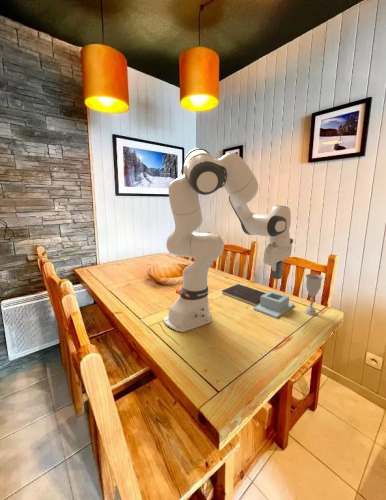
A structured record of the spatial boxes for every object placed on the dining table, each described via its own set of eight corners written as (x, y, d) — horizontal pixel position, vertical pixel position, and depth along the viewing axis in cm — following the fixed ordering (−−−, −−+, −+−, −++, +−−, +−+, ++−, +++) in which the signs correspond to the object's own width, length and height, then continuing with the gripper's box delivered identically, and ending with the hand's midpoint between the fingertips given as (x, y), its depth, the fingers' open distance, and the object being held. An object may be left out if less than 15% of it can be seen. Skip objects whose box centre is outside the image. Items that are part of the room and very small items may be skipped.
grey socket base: (276, 318, 102) (277, 306, 101) (253, 309, 110) (254, 298, 109) (294, 305, 114) (295, 294, 113) (271, 298, 122) (272, 288, 121)
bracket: (279, 279, 106) (280, 263, 104) (267, 276, 110) (268, 260, 109) (282, 277, 108) (283, 261, 106) (270, 275, 112) (271, 259, 111)
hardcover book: (255, 307, 113) (256, 303, 113) (221, 294, 130) (221, 290, 130) (272, 298, 124) (272, 294, 123) (238, 287, 141) (238, 283, 140)
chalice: (312, 317, 102) (316, 280, 98) (298, 311, 108) (302, 275, 104) (322, 314, 105) (326, 277, 101) (309, 308, 111) (312, 273, 107)
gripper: (274, 245, 96) (272, 276, 99) (295, 239, 109) (292, 266, 112) (260, 243, 100) (259, 273, 103) (282, 237, 114) (280, 264, 117)
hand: (276, 269), depth 108 cm, fingers closed on bracket, 3 cm apart
